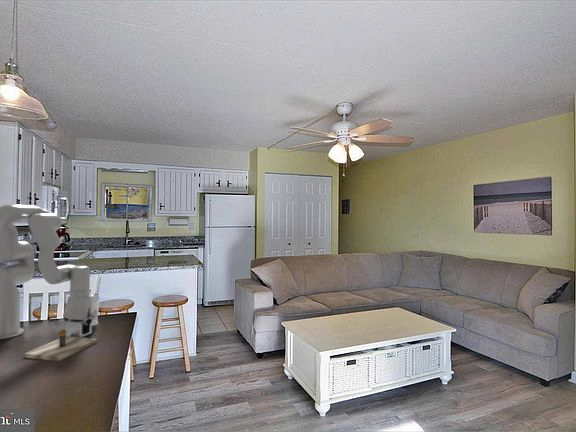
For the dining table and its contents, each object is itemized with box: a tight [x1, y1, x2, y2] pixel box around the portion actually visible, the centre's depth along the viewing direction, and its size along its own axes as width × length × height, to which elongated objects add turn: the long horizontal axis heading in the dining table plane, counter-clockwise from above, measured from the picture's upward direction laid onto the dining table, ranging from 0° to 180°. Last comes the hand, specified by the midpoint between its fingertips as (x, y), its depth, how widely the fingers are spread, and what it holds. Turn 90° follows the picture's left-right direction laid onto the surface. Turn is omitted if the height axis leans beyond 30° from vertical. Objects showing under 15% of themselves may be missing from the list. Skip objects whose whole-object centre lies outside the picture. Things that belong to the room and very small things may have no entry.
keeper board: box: [23, 329, 98, 362], centre depth 136 cm, size 16×19×8 cm
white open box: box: [65, 319, 93, 338], centre depth 152 cm, size 7×7×7 cm
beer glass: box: [89, 293, 100, 327], centre depth 168 cm, size 7×7×15 cm
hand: (79, 332), depth 152 cm, fingers closed on white open box, 7 cm apart
